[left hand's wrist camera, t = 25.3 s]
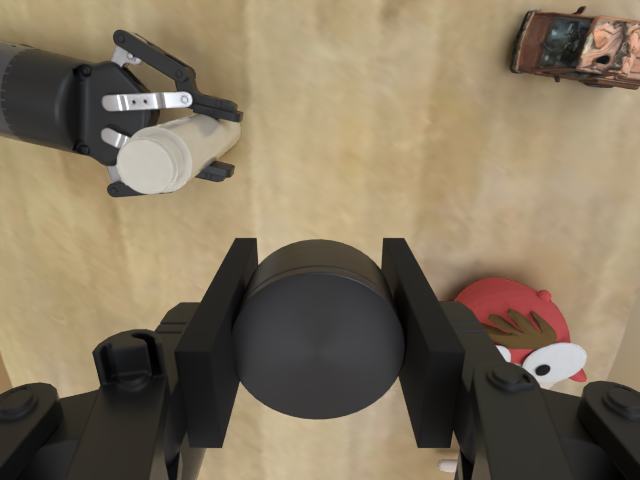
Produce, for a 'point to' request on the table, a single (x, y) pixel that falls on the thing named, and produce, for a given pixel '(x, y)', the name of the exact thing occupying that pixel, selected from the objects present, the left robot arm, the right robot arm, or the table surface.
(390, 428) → the table surface
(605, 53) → the toy car
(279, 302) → the lid
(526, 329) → the toy
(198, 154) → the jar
